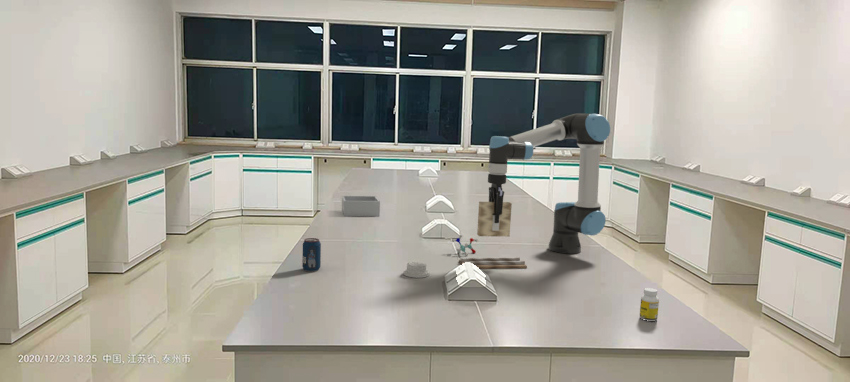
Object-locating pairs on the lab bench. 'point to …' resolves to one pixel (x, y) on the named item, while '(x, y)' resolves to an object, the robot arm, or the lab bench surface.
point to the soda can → (311, 254)
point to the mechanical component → (416, 270)
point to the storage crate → (360, 206)
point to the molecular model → (465, 245)
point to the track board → (495, 263)
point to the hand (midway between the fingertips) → (493, 229)
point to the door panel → (487, 219)
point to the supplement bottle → (649, 305)
